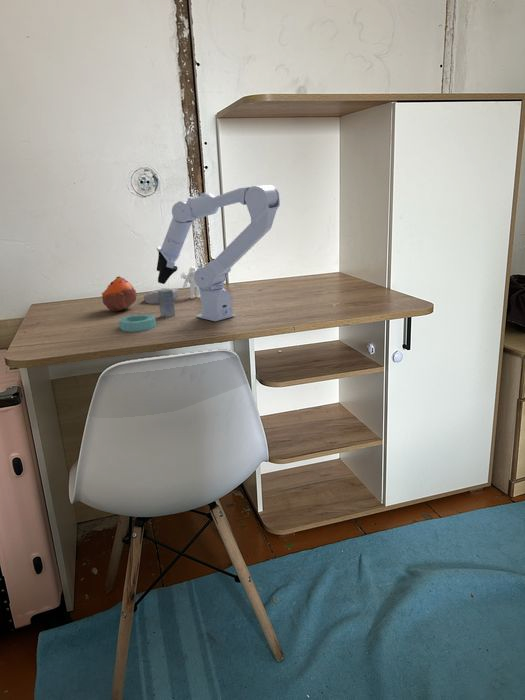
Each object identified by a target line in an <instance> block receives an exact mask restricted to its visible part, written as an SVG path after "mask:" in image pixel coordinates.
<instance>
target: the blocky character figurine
mask: <svg viewBox="0 0 525 700" xmlns="http://www.w3.org/2000/svg"><path fill="white" fill-rule="evenodd" d="M201 264H202V263H201V262H199V263H196V264H195V265H193V266H192V265H191V266H190V267H189V269H188V273H187V271H183V272H181V273H180V279H184V283H183V286H182V288H183V290H185V289H186V287H188V284H190V285H189V292H190V293H189V296H190V297H189V299H195V298H197V299H199V298H200V290H199V287H198V286H197V285H196V283H195V280H194V274H195V272H196V270H197V269H198V267H201ZM195 291H196V293H195ZM195 294H196V296H195ZM200 299H201V298H200Z"/></svg>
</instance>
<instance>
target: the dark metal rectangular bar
mask: <svg viewBox="0 0 525 700" xmlns="http://www.w3.org/2000/svg"><path fill="white" fill-rule="evenodd" d="M158 296H159V303H158V304H159V311H160V312H159V313H160V314H159V315H160V317H162V318H165V319H167V318H171V317H175V316H176V314H175V313H176V311H175V302H174V300H175V299H174V300H173V290H168V289H165V290H161V291H158Z"/></svg>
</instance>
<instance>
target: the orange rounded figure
mask: <svg viewBox="0 0 525 700" xmlns="http://www.w3.org/2000/svg"><path fill="white" fill-rule="evenodd" d="M137 295H138V294H137V290H136V289H135V287H134V286H133V284H131V283H130V282H129V281H128V280H126V279H125V278H123V277H121V276H116V277H115V279H113V280H112V281H111V282H110V283H109V284H108V285H107V288H106V289H105V290H104V291H102V292H101V296H102V297H101V298H102V303H103V305H104V306H105V307H106V308H107V309H109V311H112V312H121V311H123V310H126V309H127V308H129V307H131V306H132V305H133V304H135V302H136V301H137Z"/></svg>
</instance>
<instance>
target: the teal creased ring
mask: <svg viewBox="0 0 525 700" xmlns="http://www.w3.org/2000/svg"><path fill="white" fill-rule="evenodd" d="M156 326H157V320H156V316H155V315H153V314H145V313H142V314H133V315H127V316H124V317H121V318H120V319H119V328H120V330H121V331H122V332H128V333H130V332H143V331H148V330H151V329H153V328H155V327H156Z"/></svg>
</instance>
